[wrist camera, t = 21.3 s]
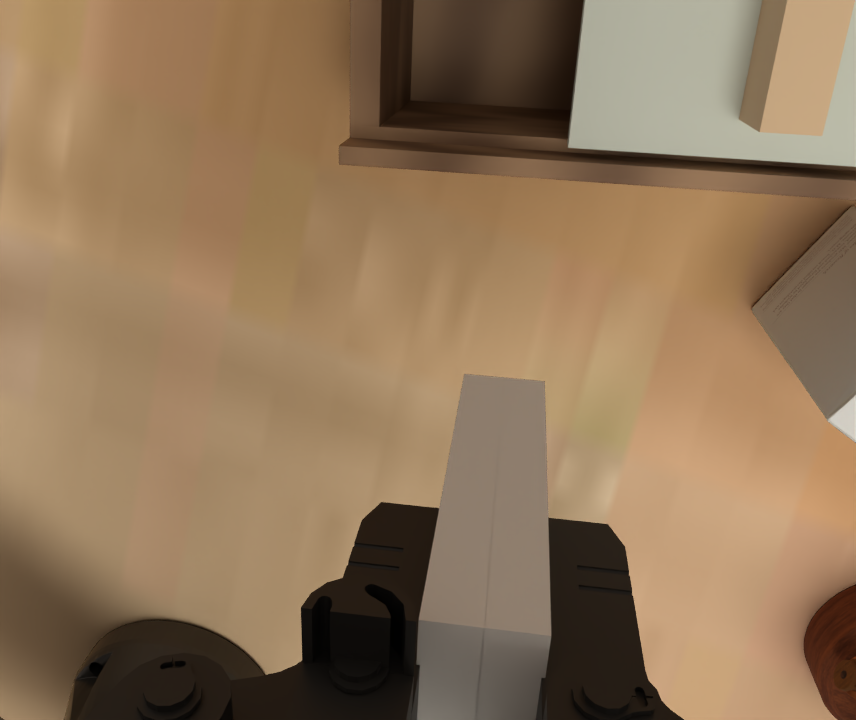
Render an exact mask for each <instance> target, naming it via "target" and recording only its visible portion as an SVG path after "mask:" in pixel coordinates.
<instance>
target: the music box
mask: <svg viewBox="0 0 856 720" xmlns="http://www.w3.org/2000/svg"><path fill="white" fill-rule="evenodd" d="M804 653H805V658H806V661H807V663H808V666H809V668H810V671H811V673H812V676H813V678H814V681H815V683H816V685H817V688H818V690H819V693H820V695H821V698H822V700H823V702H824V704H825V706H826V707H827V709H828V710H829V711H830V713H831V714H832V715H833V716H834V717H835V718H836V719H837V720H856V585H855V586H852V587H850V588H848V589H846V590H844V591H842V592H840V593H839V594H837V595H836V596H834V597H833V598H831V599H830V600H829V601H828V602H827V603H825V604H824V605H823V606H822V607H821V608H820V609H819V610H818V612H817V613H816V614H815V616H814V617H813V619H812V620H811V622H810V624H809V626H808V628H807V631H806V634H805V640H804Z"/></svg>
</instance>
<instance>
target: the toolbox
mask: <svg viewBox="0 0 856 720" xmlns="http://www.w3.org/2000/svg"><path fill="white" fill-rule="evenodd" d="M583 1H584V0H350V138H349V139H347V140H346V141H345V142H343V143H342V144H341V145H340V146H339V164H340V165H354V166H368V167H383V168H397V169H412V170H426V171H440V172H455V173H469V174H484V175H498V176H512V177H527V178H541V179H556V180H570V181H585V182H599V183H613V184H628V185H642V186H657V187H671V188H685V189H700V190H714V191H729V192H743V193H757V194H772V195H786V196H801V197H815V198H830V199H844V200H856V167H853V166H838V165H823V164H808V163H793V162H777V161H762V160H747V159H732V158H716V157H701V156H686V155H671V154H656V153H640V152H625V151H610V150H595V149H580V148H568V145H567V141H568V132H569V123H570V114H571V106H572V97H573V88H574V79H575V71H576V62H577V53H578V44H579V36H580V27H581V18H582V9H583Z"/></svg>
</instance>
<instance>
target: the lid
mask: <svg viewBox="0 0 856 720" xmlns="http://www.w3.org/2000/svg"><path fill="white" fill-rule="evenodd" d="M567 145H568V148H580V149H595V150H610V151H625V152H640V153H656V154H671V155H686V156H701V157H716V158H732V159H747V160H762V161H777V162H793V163H808V164H823V165H838V166H853V167H856V0H584V1H583V9H582V18H581V27H580V36H579V44H578V53H577V62H576V71H575V79H574V88H573V97H572V106H571V114H570V123H569V132H568V141H567Z"/></svg>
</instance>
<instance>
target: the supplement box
mask: <svg viewBox="0 0 856 720" xmlns="http://www.w3.org/2000/svg"><path fill="white" fill-rule="evenodd" d="M752 312H753V314H754V315H755V317H756V318H757V320H758V321H759V323H760V324H761V326H762V327H763V329H764V330H765V331H766V333H767V334H768V335H769V337H770V338H771V340H772V341H773V343H774V344H775V346H776V347H777V349H778V350H779V351H780V353H781V354H782V356H783V357H784V359H785V360H786V361H787V363H788V364H789V366H790V367H791V368H792V370H793V371H794V373H795V374H796V376H797V377H798V378H799V380H800V381H801V383H802V384H803V385H804V387H805V388H806V390H807V391H808V393H809V394H810V396H811V397H812V399H813V400H814V402H815V403H816V404H817V406H818V407H819V409H820V410H821V412H822V413H823V414H824V416H825V418H826V419H827V421H828V422H829V423H831V424H832V425H833V426H834V427H836V428H837V429H838V430H839V431H841V432H842V433H843V434H845V435H846V436H847V437H849V438H850V439H851V440H853V441H854V442H855V443H856V207H854V206H852V207H850V208H849V209H848V210H847V211H846V212H845V213H844V214H843V215H842V216H841V217H840V218H839V219H838V220H837V221H836V222H835V223H834V224H833V225H832V226H831V227H830V228H829V229H828V230H827V231H826V232H825V233H824V234H823V235H822V236H821V237H820V238H819V240H818V241H816V242H815V243H814V244H813V245H812V246H811V247H810V248H809V249H808V251H807V252H806V253H805V254H804V255H803V256H802V257H801V258H800V259H799V260H798V261H797V262H796V263H795V264H794V265H793V266H792V267H791V268H790V269H789V270H788V271H787V272H786V273H785V274H784V275H783V276H782V277H781V278H780V279H779V280H778V281H777V282H776V283H775V284H774V285H773V286H772V288H771V289H770V290H769V291H768V292H766V293H765V295H764V296H763V297H762V298H761V299H760V300H759V301H758V302H757V303H756V304H755V305H754V307H753V308H752Z"/></svg>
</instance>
